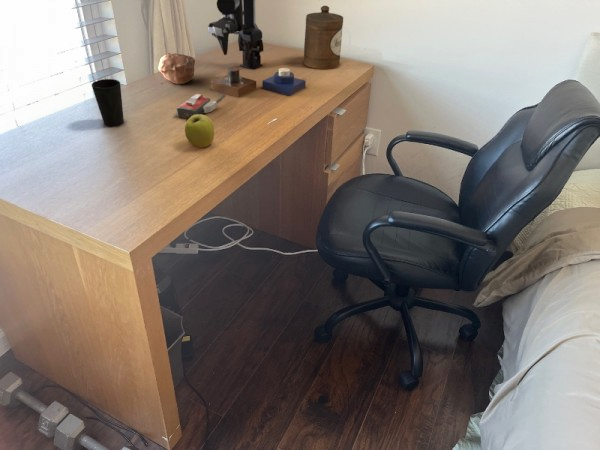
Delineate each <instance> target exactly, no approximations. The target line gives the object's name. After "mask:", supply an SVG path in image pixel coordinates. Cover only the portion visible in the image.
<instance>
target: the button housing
mask: <svg viewBox="0 0 600 450" xmlns="http://www.w3.org/2000/svg"><path fill="white" fill-rule="evenodd" d="M306 82H307V81H306V80H305V79H301V78H297V77H295V73H293V72H292V71H290V76H286V77H285V76H279V71H276V72H274V74H273V75H272V76H270V77H268V78H265V79H263V80H262V81H261V88H262V89H264V90H268V91H271V92H275V93H278V94H282V95H286V96H289V97H291V96H292V95H294V94H296V93H299V92H300V91H303V90H305V89H306V85H307V83H306Z"/></svg>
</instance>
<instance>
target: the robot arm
mask: <svg viewBox="0 0 600 450" xmlns="http://www.w3.org/2000/svg"><path fill="white" fill-rule="evenodd" d="M216 8H217V10H218V11H219V13H220V14H221V18H220V19H218V20H217V21H213V22H210V23H209V24H208V25H207V29H208V30H207V31H208V33H210V34H211V36H212V37H215V38H216V40H217V42H218V43H219V45H220V46H219V47H220V48H221V51H222V54H223V55H224V56H227V55H228V50H229V37H230V35H233V34H234V35H237V43H238V49H239V50H238V51H239V52H242V63H241V64H240V67H241V68H246V69H249V70H255V69H257V68H261V67H262V66H263V63H262V58H261V57H262V55H261V53H262V52H264V42H263V32H262V30H261V29H260V28H259V27H258V24H257V23H256V0H217V1H216Z"/></svg>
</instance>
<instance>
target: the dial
mask: <svg viewBox="0 0 600 450" xmlns="http://www.w3.org/2000/svg"><path fill="white" fill-rule="evenodd" d="M240 73H241V72H240V68H238V67H229V68H227V75H228V81H229V82H231V83H237V82H239V81H240V77H241V75H240Z"/></svg>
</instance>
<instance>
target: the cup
mask: <svg viewBox="0 0 600 450" xmlns="http://www.w3.org/2000/svg"><path fill="white" fill-rule="evenodd" d="M121 87H122V86H121V82H120V81H119V80H117V79H114V78H104V79H98V80H96V81H93V82H92V83H91V88H92V91H93V94H94V97H95V100H96V104H97V106H98V109H99V113H100V115H101V119H102V121H103V124H104V126H105V127H108V128H116V127H120V126H122V125H124V123H125V121H124V119H125V118H124V110H123V109H124V107H123V99H122V98H123V97H122V88H121Z"/></svg>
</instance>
